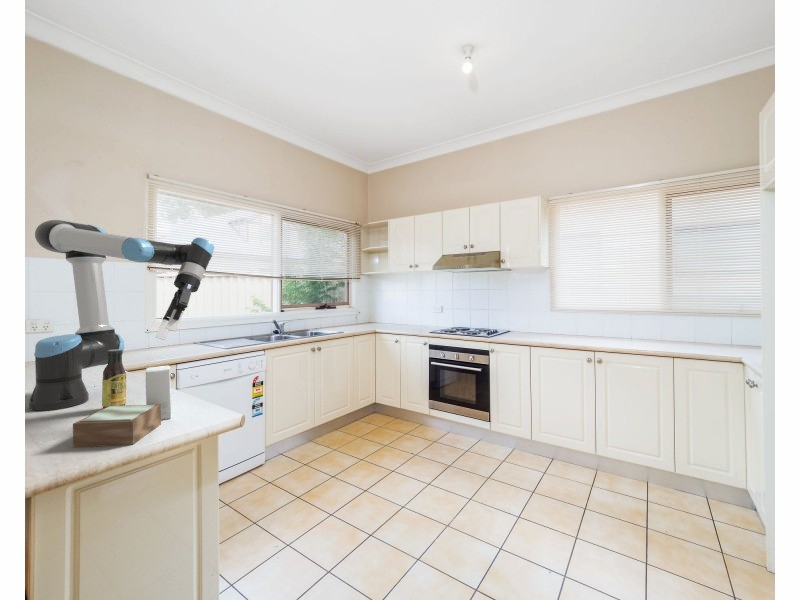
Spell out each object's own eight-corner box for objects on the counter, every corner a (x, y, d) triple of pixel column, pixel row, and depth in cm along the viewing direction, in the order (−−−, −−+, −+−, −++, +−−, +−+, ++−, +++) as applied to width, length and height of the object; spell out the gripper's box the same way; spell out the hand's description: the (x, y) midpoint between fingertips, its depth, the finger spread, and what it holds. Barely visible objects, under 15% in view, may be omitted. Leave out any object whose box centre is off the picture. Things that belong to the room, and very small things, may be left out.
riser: (109, 426, 106) (109, 404, 106) (160, 424, 108) (160, 403, 108) (73, 447, 92) (72, 422, 92) (133, 444, 94) (132, 420, 94)
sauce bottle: (112, 413, 117) (111, 352, 117) (97, 411, 119) (96, 351, 118) (131, 406, 124) (130, 348, 123) (116, 405, 125) (115, 348, 124)
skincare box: (171, 419, 113) (170, 369, 112) (145, 423, 109) (144, 371, 109) (171, 411, 120) (170, 364, 119) (146, 414, 116) (146, 366, 116)
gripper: (212, 271, 120) (188, 329, 111) (190, 292, 137) (167, 345, 127) (188, 261, 116) (161, 321, 106) (168, 284, 133) (143, 338, 123)
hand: (165, 334), depth 117 cm, fingers open, 13 cm apart
